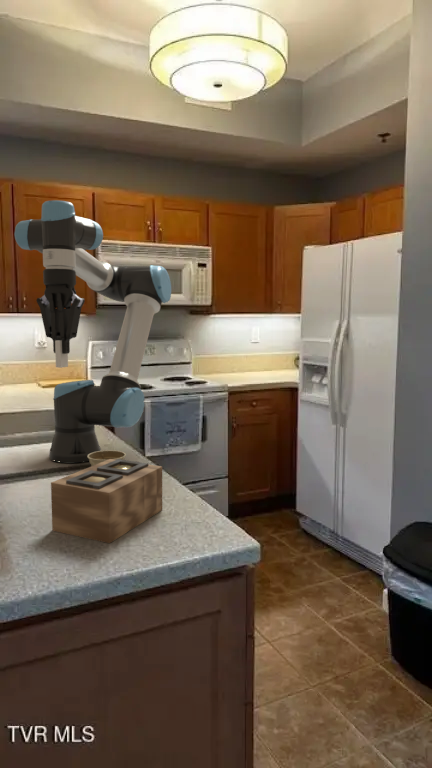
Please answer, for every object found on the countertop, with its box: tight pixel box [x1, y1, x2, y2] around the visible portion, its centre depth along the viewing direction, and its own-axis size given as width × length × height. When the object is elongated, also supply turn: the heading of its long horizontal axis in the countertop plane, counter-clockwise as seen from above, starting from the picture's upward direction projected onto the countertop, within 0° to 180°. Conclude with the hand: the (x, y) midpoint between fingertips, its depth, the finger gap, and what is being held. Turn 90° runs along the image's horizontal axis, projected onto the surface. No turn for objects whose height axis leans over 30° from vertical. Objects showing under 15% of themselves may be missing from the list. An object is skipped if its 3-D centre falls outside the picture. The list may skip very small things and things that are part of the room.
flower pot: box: [87, 449, 127, 467], centre depth 137 cm, size 9×9×9 cm
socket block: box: [50, 459, 163, 544], centre depth 116 cm, size 20×14×11 cm
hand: (61, 366), depth 134 cm, fingers closed
